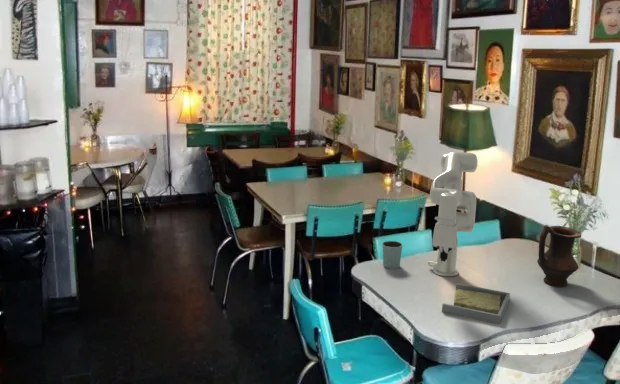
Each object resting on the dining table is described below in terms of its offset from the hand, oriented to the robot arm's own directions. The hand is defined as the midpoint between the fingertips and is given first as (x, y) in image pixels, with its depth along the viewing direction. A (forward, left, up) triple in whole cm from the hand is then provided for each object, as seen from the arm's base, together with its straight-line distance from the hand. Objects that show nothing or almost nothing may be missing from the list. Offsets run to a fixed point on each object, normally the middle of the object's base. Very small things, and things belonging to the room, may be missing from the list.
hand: (443, 260), depth 274 cm
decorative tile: (+16, +1, -19) cm, 25 cm away
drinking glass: (-33, +29, -19) cm, 47 cm away
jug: (+44, +46, -19) cm, 66 cm away
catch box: (+16, 0, -18) cm, 24 cm away
